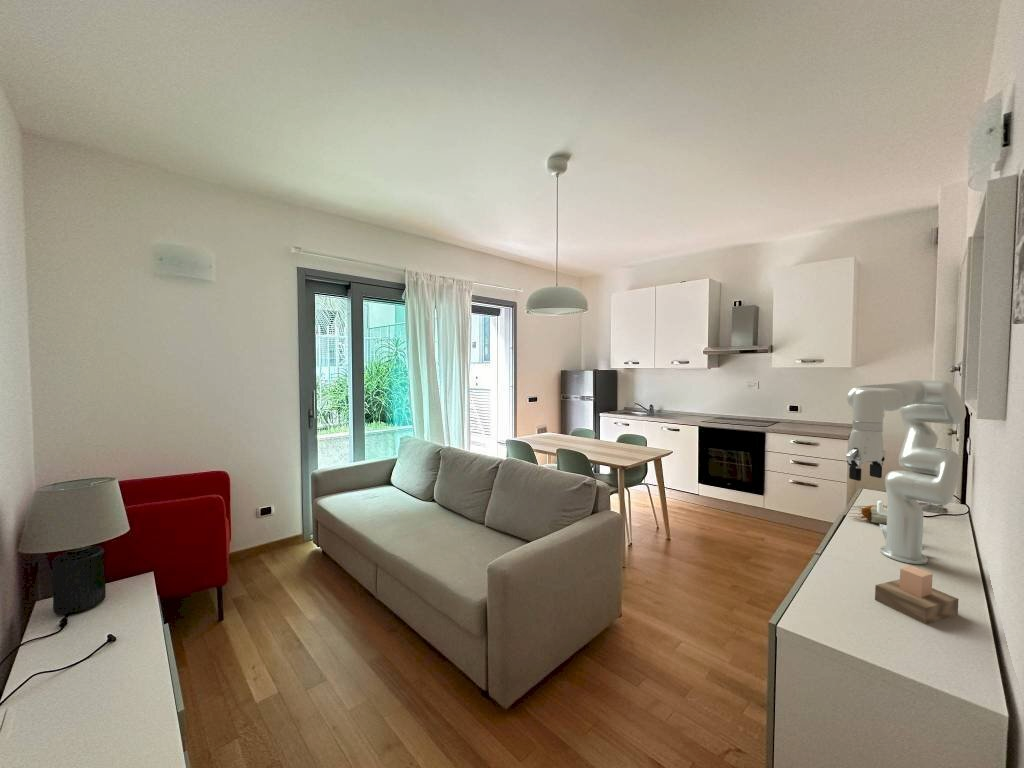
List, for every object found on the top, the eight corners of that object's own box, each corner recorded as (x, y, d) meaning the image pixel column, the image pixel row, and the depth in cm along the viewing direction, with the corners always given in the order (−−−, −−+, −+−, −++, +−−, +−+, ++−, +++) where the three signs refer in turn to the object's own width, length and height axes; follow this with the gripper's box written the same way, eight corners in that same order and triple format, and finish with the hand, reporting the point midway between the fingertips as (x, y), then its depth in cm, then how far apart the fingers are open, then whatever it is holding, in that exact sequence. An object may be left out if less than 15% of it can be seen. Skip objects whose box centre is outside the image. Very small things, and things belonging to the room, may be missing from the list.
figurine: (909, 543, 159) (910, 506, 158) (876, 537, 165) (878, 501, 164) (906, 537, 165) (907, 501, 164) (875, 531, 171) (876, 496, 170)
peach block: (909, 585, 122) (910, 565, 121) (931, 594, 117) (932, 573, 116) (899, 588, 120) (900, 568, 120) (921, 597, 115) (922, 577, 115)
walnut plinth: (905, 593, 126) (906, 577, 126) (957, 616, 115) (958, 598, 114) (874, 601, 122) (875, 585, 122) (925, 625, 111) (926, 608, 110)
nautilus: (849, 524, 180) (840, 514, 194) (914, 530, 170) (900, 519, 184) (848, 506, 180) (839, 498, 194) (912, 511, 171) (899, 502, 184)
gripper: (872, 423, 139) (870, 473, 140) (836, 426, 134) (834, 477, 134) (898, 427, 132) (896, 479, 132) (861, 430, 126) (859, 484, 127)
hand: (865, 478), depth 133 cm, fingers open, 9 cm apart
